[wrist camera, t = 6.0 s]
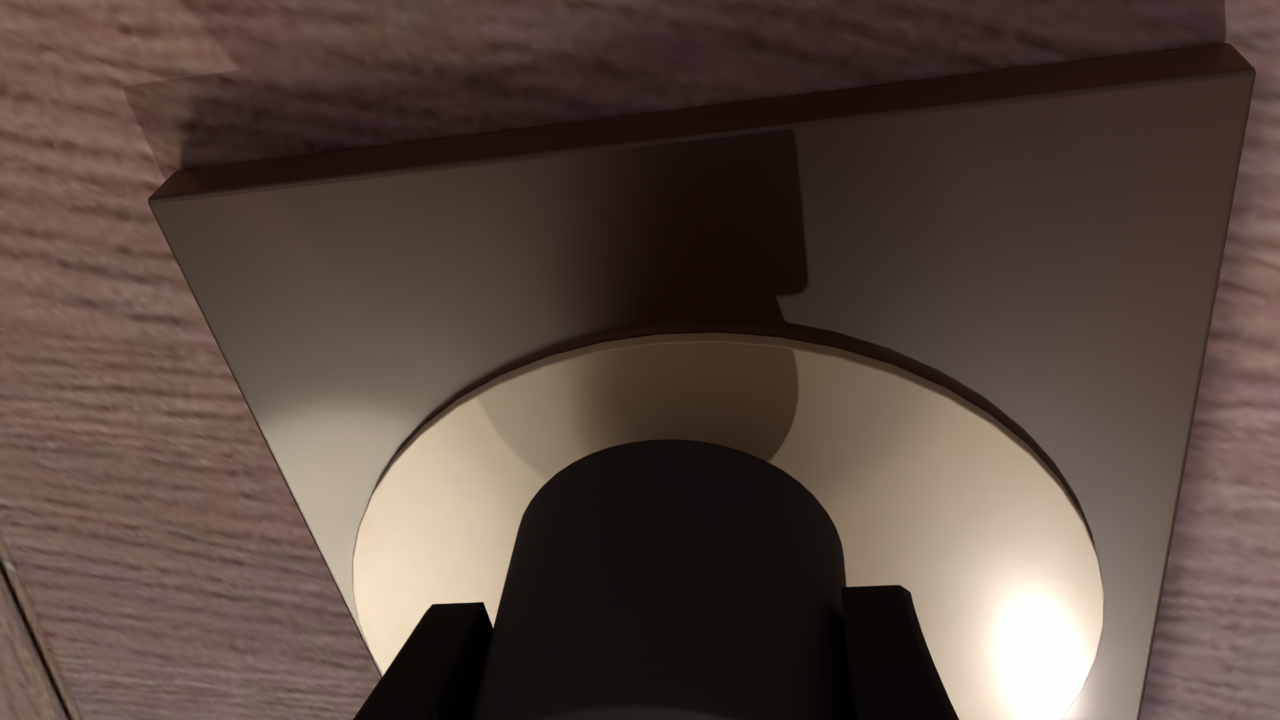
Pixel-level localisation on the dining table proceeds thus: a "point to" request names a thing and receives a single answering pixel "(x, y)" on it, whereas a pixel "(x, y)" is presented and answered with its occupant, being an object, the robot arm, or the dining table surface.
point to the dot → (670, 594)
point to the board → (762, 340)
